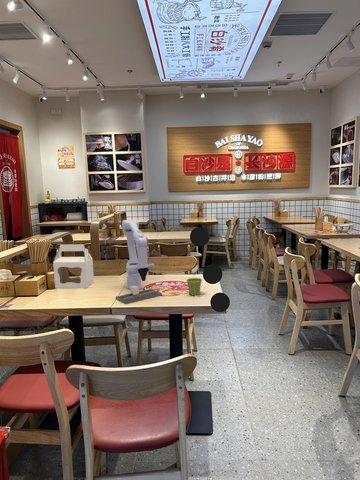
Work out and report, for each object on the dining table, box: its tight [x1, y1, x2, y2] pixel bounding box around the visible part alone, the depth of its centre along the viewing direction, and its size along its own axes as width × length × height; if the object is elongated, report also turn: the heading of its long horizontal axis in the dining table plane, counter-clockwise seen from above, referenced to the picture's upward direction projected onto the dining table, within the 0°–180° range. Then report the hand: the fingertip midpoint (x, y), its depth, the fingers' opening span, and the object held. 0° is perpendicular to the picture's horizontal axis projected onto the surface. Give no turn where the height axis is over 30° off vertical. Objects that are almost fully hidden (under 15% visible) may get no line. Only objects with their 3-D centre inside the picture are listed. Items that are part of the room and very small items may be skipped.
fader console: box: [115, 288, 163, 305], centre depth 197 cm, size 12×24×2 cm, turn 127°
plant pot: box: [185, 277, 203, 296], centre depth 200 cm, size 9×9×9 cm
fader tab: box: [129, 285, 140, 296], centre depth 195 cm, size 4×3×5 cm
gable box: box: [52, 243, 95, 289], centre depth 225 cm, size 22×13×28 cm, turn 85°
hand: (143, 280), depth 198 cm, fingers closed
